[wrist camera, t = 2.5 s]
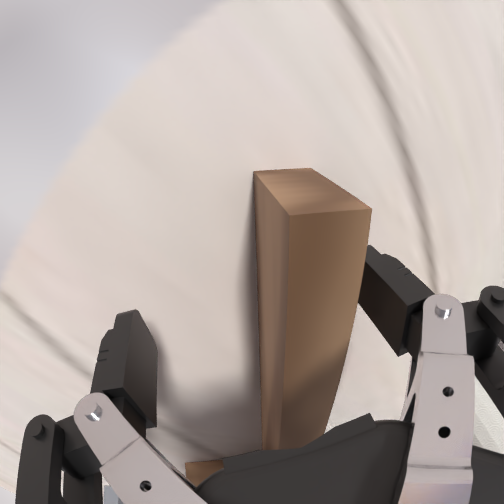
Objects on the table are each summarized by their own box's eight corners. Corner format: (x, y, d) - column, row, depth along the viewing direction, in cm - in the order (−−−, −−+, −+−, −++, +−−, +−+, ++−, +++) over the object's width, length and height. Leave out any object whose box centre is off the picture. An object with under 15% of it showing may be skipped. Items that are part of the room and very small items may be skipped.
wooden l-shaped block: (310, 167, 12) (371, 208, 8) (287, 455, 25) (300, 499, 20) (83, 192, 11) (30, 247, 7) (189, 469, 23) (194, 514, 19)
